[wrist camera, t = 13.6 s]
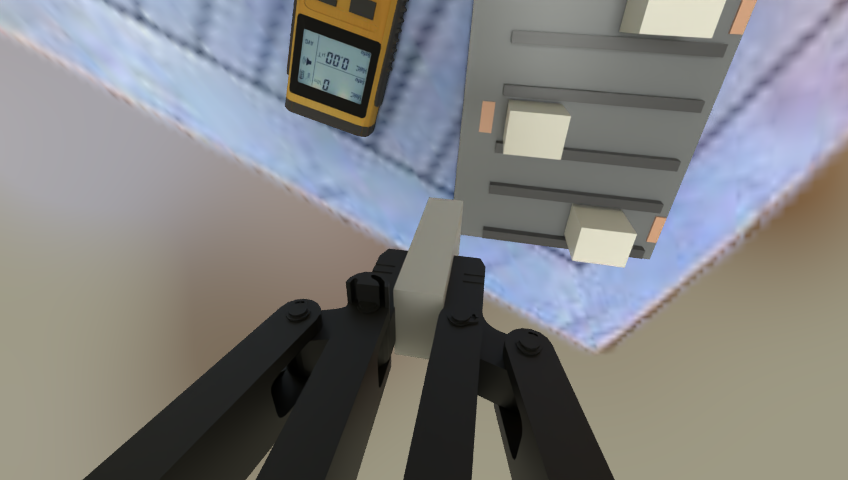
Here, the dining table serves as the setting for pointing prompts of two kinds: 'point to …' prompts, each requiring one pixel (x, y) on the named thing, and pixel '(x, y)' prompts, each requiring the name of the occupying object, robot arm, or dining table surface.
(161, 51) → the dining table surface
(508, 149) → the tab
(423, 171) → the dining table surface
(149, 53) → the dining table surface
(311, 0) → the electronic device
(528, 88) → the switch bank
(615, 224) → the tab
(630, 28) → the tab
